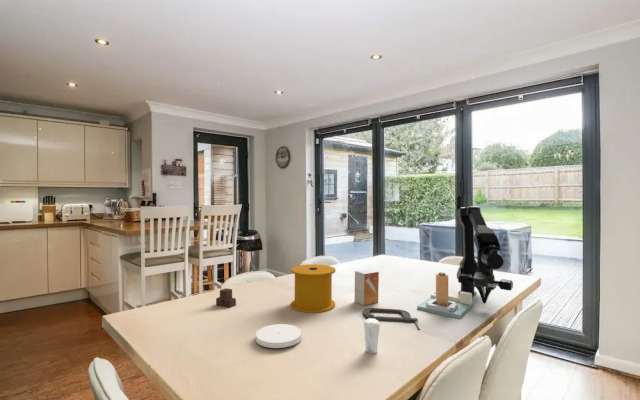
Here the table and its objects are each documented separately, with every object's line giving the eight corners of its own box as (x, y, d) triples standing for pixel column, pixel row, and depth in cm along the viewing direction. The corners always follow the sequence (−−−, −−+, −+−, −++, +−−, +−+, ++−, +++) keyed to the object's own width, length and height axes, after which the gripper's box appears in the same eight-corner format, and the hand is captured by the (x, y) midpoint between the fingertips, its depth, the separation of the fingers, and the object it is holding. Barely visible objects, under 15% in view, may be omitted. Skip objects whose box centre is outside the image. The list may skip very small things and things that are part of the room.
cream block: (445, 297, 142) (445, 288, 142) (471, 302, 135) (472, 293, 135) (443, 299, 139) (443, 290, 139) (470, 304, 133) (470, 294, 133)
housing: (434, 297, 147) (434, 290, 147) (473, 304, 137) (473, 297, 137) (417, 309, 131) (417, 301, 131) (459, 318, 121) (459, 310, 121)
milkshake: (359, 348, 97) (359, 314, 97) (377, 347, 98) (377, 313, 98) (362, 355, 93) (362, 319, 93) (381, 354, 93) (381, 319, 93)
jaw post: (435, 304, 133) (435, 271, 133) (447, 305, 132) (447, 272, 132) (436, 308, 129) (436, 274, 128) (449, 309, 127) (449, 274, 127)
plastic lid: (306, 348, 98) (306, 339, 98) (257, 354, 94) (257, 345, 94) (296, 329, 111) (296, 322, 111) (253, 334, 107) (253, 326, 107)
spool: (344, 305, 136) (344, 268, 136) (313, 316, 123) (313, 276, 122) (312, 295, 148) (312, 262, 148) (281, 305, 135) (281, 268, 135)
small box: (364, 306, 135) (364, 273, 134) (354, 301, 140) (354, 270, 140) (378, 302, 139) (379, 271, 139) (368, 298, 144) (368, 268, 144)
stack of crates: (254, 303, 139) (254, 286, 139) (230, 314, 126) (230, 296, 126) (225, 298, 146) (225, 282, 146) (200, 308, 132) (200, 291, 132)
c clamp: (416, 313, 128) (417, 306, 128) (420, 331, 111) (420, 323, 111) (364, 309, 132) (364, 302, 132) (359, 326, 115) (359, 318, 115)
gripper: (454, 263, 130) (453, 303, 130) (508, 270, 119) (508, 314, 119) (462, 259, 139) (461, 296, 139) (513, 265, 128) (512, 306, 128)
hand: (484, 303), depth 131 cm, fingers closed
